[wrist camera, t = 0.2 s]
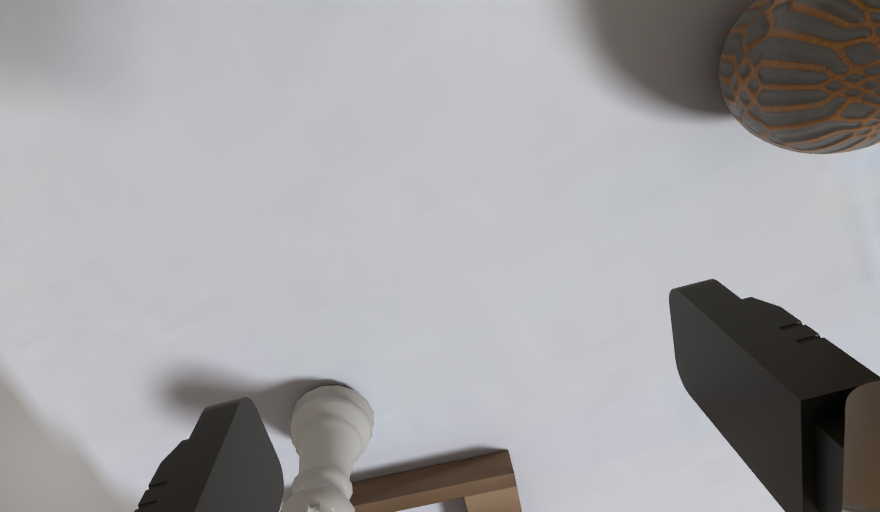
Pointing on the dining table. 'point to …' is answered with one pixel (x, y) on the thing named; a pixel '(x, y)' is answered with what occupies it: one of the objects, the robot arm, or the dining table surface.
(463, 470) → the rectangular wooden frame
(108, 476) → the dining table surface
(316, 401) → the rook chess piece
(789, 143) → the vase
